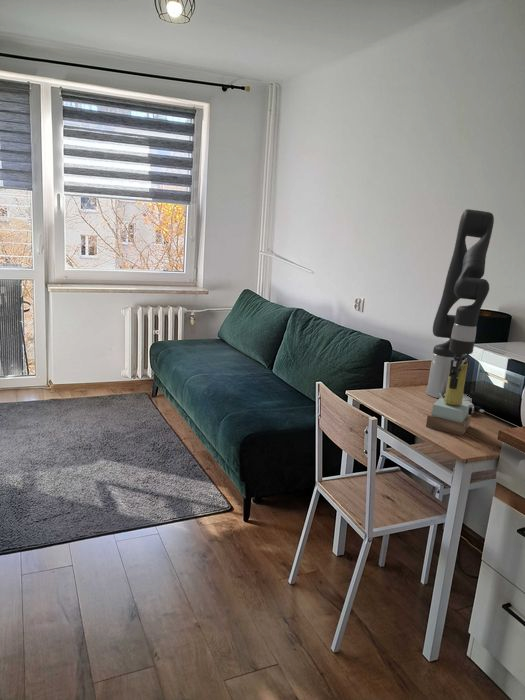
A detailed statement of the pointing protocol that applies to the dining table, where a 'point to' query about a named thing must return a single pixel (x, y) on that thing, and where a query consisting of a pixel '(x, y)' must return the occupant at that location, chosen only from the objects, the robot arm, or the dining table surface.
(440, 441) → the dining table surface
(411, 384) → the dining table surface
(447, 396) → the vase
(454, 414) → the top brick
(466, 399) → the robot toy
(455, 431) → the bottom brick
